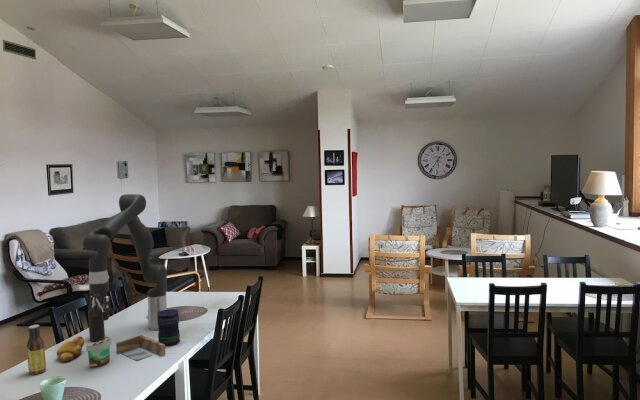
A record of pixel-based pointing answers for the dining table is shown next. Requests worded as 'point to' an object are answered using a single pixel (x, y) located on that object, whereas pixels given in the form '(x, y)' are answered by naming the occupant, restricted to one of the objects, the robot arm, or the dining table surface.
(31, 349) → the sauce bottle
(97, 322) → the vinegar
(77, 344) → the bread roll
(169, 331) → the rusty blue oil drum
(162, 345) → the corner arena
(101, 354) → the food container
